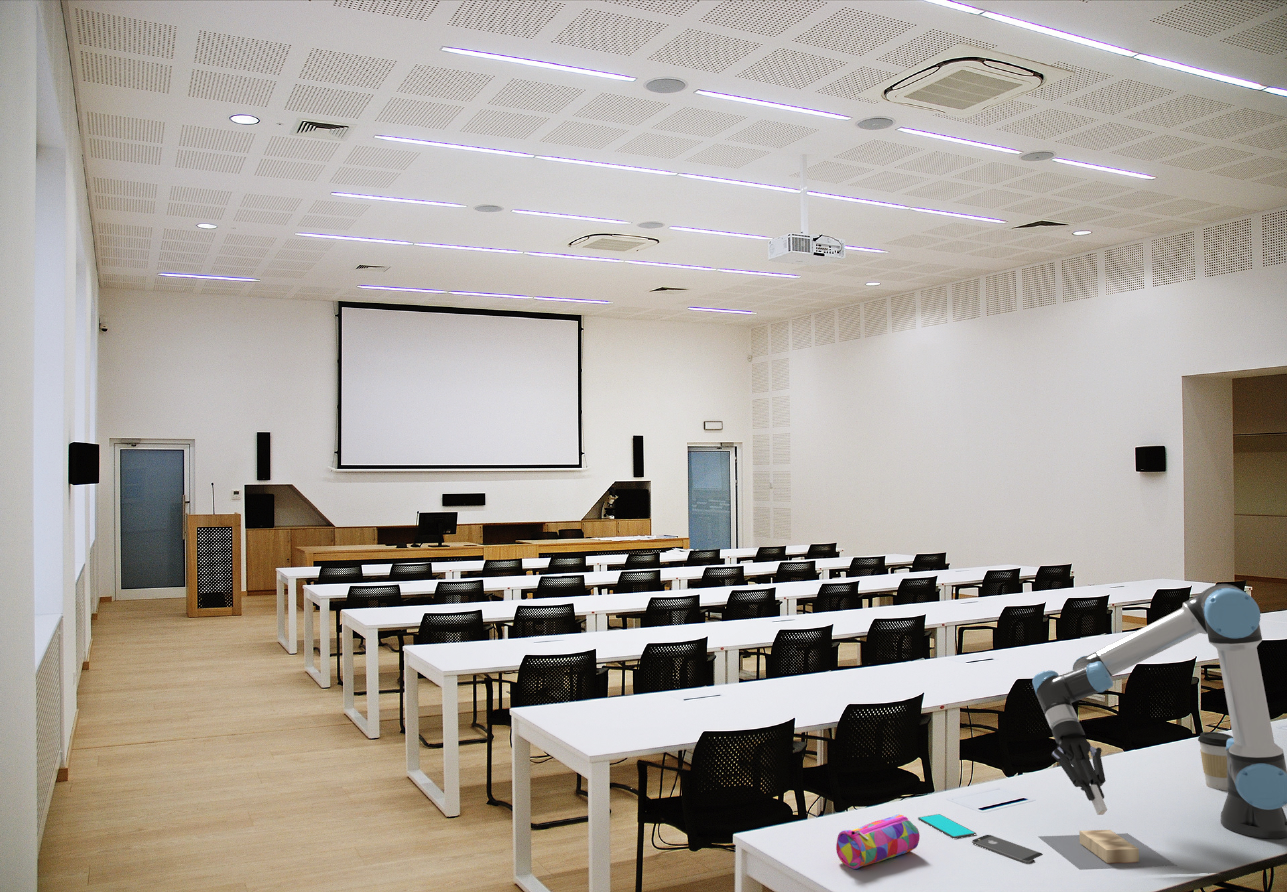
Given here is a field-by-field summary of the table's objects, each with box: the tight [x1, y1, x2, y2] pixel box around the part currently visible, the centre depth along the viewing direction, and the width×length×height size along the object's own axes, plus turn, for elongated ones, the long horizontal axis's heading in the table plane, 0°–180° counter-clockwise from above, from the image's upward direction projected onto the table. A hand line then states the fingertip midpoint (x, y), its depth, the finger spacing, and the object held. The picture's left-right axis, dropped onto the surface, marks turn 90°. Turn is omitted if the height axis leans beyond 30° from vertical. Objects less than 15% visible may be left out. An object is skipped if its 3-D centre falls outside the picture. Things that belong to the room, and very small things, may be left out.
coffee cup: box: [1197, 731, 1233, 791], centre depth 276 cm, size 10×10×15 cm
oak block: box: [1078, 829, 1139, 864], centre depth 227 cm, size 8×3×12 cm
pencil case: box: [835, 814, 921, 870], centre depth 226 cm, size 22×9×9 cm, turn 123°
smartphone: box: [917, 813, 977, 839], centre depth 246 cm, size 7×1×15 cm
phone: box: [971, 834, 1044, 865], centre depth 231 cm, size 8×1×16 cm
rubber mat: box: [1037, 832, 1178, 870], centre depth 228 cm, size 24×20×1 cm
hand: (1102, 812), depth 229 cm, fingers closed
